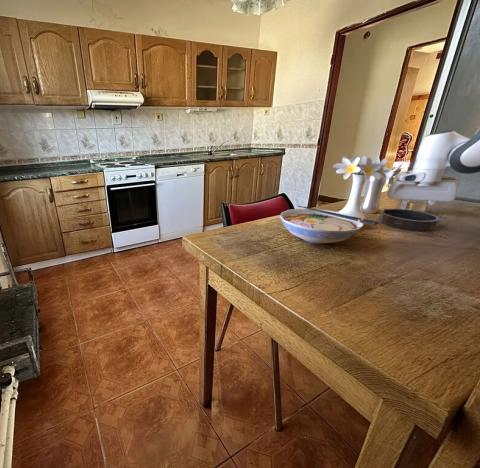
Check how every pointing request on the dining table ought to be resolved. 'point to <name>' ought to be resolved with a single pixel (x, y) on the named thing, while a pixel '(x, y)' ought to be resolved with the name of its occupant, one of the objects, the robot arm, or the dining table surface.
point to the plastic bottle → (372, 194)
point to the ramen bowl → (321, 224)
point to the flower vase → (362, 179)
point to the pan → (409, 219)
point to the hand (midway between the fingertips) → (414, 210)
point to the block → (416, 206)
